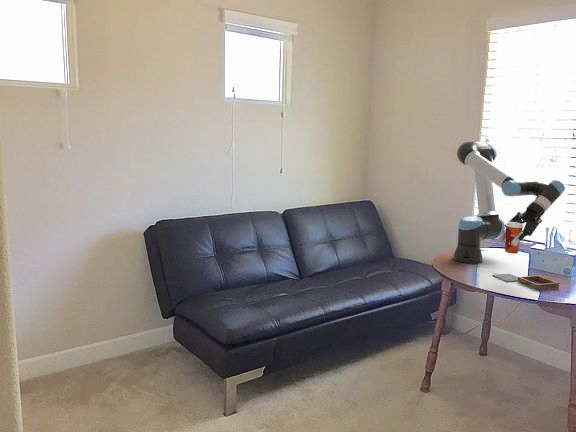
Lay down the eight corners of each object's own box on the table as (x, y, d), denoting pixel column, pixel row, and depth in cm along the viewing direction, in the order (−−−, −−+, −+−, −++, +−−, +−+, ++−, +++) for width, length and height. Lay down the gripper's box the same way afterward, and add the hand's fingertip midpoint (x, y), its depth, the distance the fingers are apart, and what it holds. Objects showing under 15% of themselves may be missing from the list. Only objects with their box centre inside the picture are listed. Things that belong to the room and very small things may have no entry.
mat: (492, 276, 239) (492, 274, 238) (509, 274, 242) (509, 273, 241) (507, 282, 229) (507, 281, 229) (524, 280, 232) (524, 279, 232)
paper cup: (510, 254, 228) (513, 225, 225) (499, 250, 235) (502, 221, 233) (524, 253, 230) (527, 224, 228) (512, 249, 238) (516, 221, 235)
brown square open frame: (517, 282, 230) (517, 277, 229) (537, 280, 233) (538, 275, 233) (537, 290, 219) (537, 285, 218) (558, 288, 222) (559, 282, 222)
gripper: (559, 216, 224) (527, 252, 223) (525, 208, 244) (495, 241, 242) (551, 205, 222) (519, 242, 220) (518, 198, 241) (487, 232, 239)
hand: (506, 242), depth 231 cm, fingers closed on paper cup, 8 cm apart
